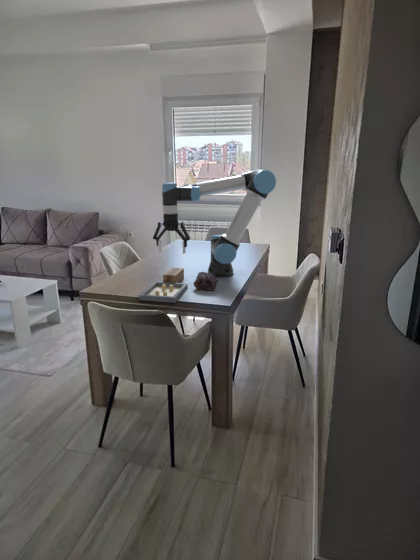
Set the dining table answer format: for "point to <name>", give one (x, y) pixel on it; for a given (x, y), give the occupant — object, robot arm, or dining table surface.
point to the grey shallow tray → (164, 292)
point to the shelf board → (174, 275)
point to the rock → (205, 281)
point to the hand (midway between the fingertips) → (172, 252)
